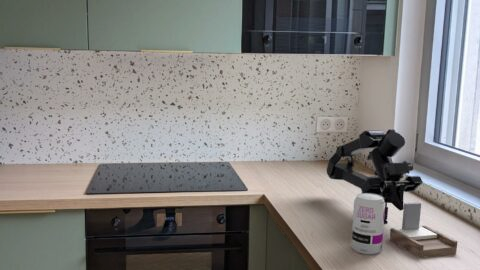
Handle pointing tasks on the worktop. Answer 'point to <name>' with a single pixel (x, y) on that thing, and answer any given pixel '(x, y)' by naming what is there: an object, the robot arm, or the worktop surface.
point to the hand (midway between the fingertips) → (401, 209)
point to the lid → (414, 223)
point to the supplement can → (368, 223)
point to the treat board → (425, 244)
